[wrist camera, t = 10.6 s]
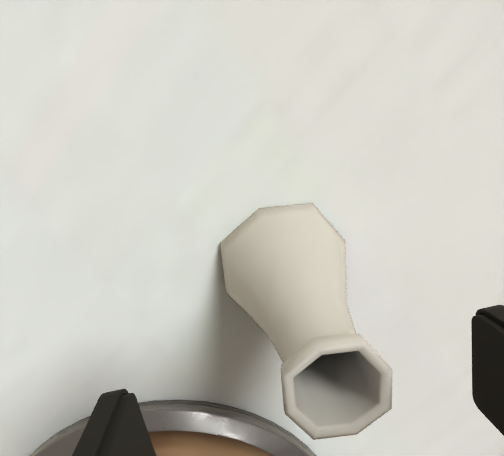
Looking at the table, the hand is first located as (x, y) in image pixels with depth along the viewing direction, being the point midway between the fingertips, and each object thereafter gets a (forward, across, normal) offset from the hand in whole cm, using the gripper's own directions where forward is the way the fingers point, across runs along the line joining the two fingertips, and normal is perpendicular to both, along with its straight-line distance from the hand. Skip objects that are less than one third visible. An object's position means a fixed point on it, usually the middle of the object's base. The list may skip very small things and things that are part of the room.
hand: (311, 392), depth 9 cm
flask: (+10, -1, 0) cm, 10 cm away
